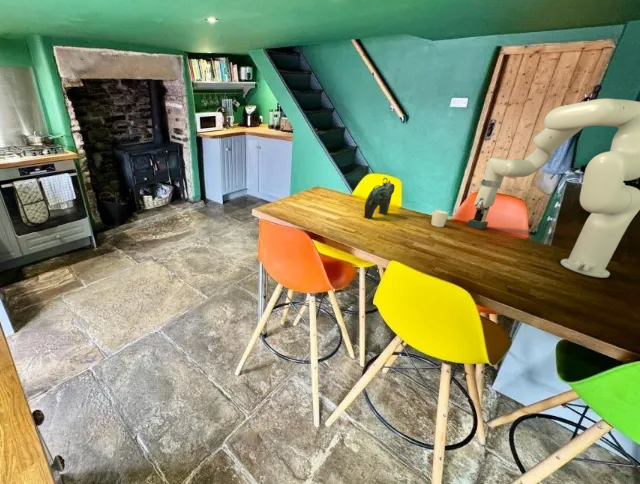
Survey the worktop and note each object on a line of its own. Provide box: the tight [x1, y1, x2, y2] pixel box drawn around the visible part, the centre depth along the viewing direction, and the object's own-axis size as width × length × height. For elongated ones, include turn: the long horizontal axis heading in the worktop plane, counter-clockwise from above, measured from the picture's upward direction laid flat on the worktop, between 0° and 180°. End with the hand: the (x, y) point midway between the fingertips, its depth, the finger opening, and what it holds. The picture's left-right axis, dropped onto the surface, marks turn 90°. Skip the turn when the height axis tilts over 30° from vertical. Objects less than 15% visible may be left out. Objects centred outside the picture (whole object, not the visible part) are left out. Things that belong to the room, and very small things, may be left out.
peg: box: [474, 210, 489, 223], centre depth 148 cm, size 3×3×6 cm
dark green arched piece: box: [363, 177, 395, 220], centre depth 155 cm, size 20×6×20 cm, turn 128°
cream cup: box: [430, 209, 450, 228], centre depth 149 cm, size 7×7×7 cm
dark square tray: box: [466, 218, 489, 230], centre depth 150 cm, size 6×6×3 cm
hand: (479, 219), depth 149 cm, fingers closed on peg, 3 cm apart
